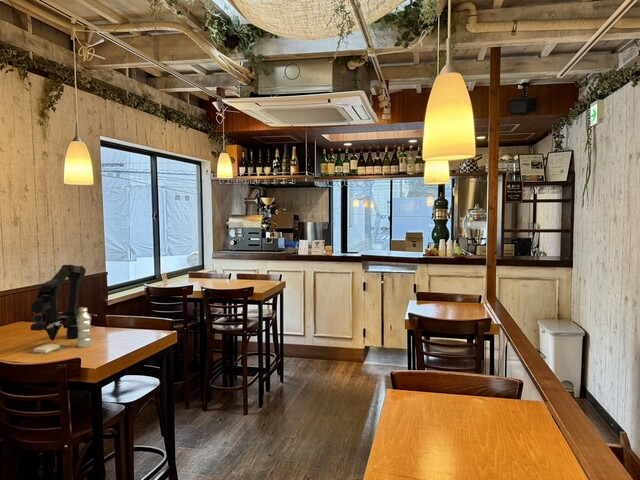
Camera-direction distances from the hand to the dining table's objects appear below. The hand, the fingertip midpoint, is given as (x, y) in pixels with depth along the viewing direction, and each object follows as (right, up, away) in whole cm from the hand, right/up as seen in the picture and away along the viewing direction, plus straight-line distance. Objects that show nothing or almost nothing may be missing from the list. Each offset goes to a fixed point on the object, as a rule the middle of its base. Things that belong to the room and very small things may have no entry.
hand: (52, 340), depth 212 cm
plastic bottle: (+15, -4, +2) cm, 16 cm away
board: (-1, -5, -2) cm, 5 cm away
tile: (0, -3, +1) cm, 3 cm away
